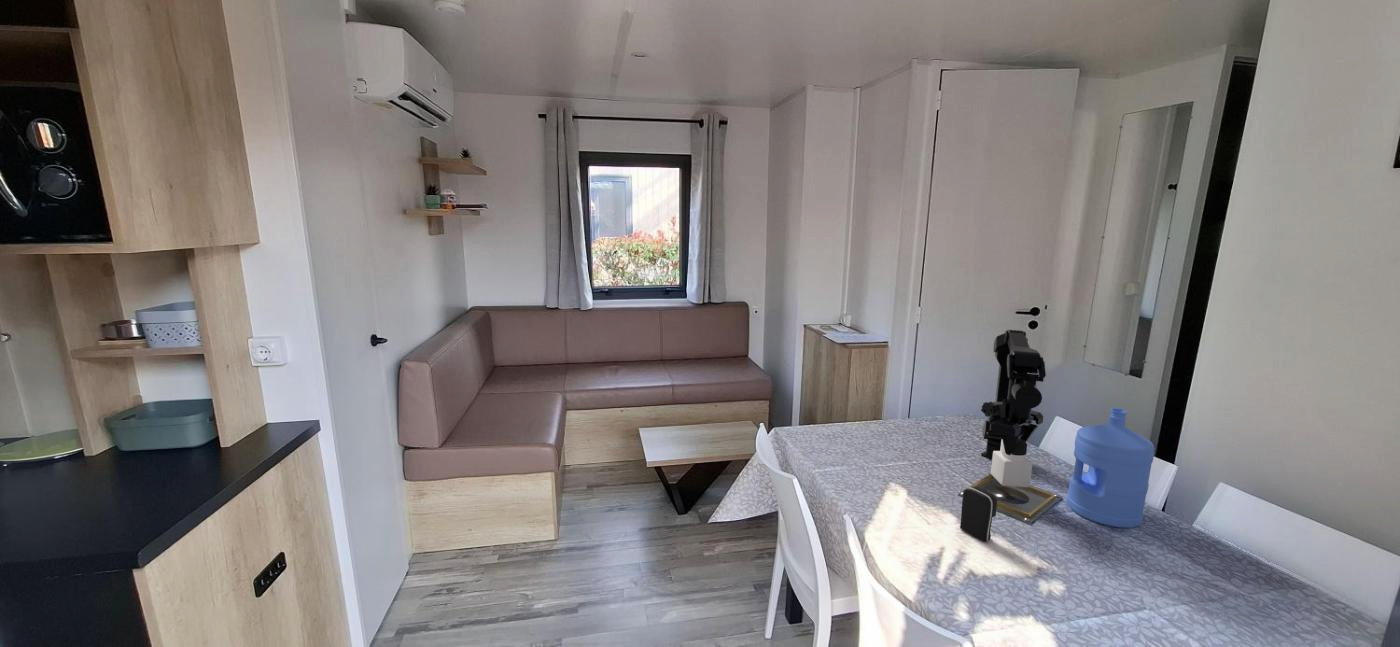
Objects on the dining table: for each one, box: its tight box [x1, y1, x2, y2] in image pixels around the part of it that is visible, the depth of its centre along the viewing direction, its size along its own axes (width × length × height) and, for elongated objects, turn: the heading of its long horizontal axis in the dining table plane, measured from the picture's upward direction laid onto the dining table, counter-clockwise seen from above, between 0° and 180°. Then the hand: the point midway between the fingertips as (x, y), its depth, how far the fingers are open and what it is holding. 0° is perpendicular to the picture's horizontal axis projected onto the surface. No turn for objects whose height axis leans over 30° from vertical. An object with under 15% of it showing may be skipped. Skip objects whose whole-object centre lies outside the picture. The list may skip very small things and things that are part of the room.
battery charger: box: [959, 486, 997, 543], centre depth 121 cm, size 7×4×11 cm, turn 28°
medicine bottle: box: [990, 439, 1034, 487], centre depth 138 cm, size 7×7×12 cm
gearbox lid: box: [957, 473, 1063, 525], centre depth 140 cm, size 22×18×1 cm
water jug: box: [1066, 408, 1155, 529], centre depth 130 cm, size 16×16×28 cm
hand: (1013, 451), depth 138 cm, fingers closed on medicine bottle, 6 cm apart
